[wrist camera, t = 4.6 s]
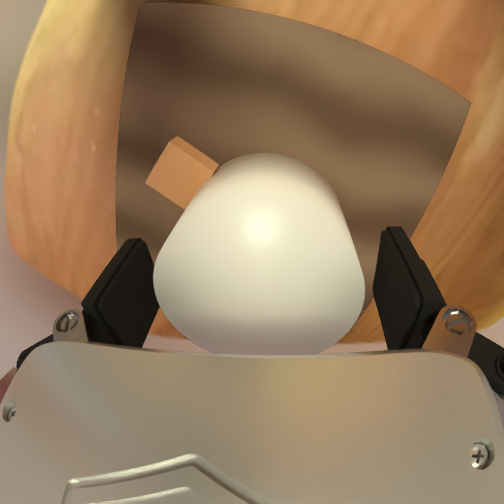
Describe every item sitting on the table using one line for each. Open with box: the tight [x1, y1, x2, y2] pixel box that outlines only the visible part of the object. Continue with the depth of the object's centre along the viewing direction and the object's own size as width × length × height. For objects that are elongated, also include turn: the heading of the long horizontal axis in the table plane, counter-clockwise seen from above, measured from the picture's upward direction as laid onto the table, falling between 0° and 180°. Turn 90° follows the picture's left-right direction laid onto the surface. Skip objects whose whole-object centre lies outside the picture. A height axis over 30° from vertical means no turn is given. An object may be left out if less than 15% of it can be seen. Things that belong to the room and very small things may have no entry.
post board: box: [116, 2, 471, 330], centre depth 16 cm, size 20×20×6 cm
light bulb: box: [145, 136, 365, 355], centre depth 11 cm, size 7×9×5 cm
